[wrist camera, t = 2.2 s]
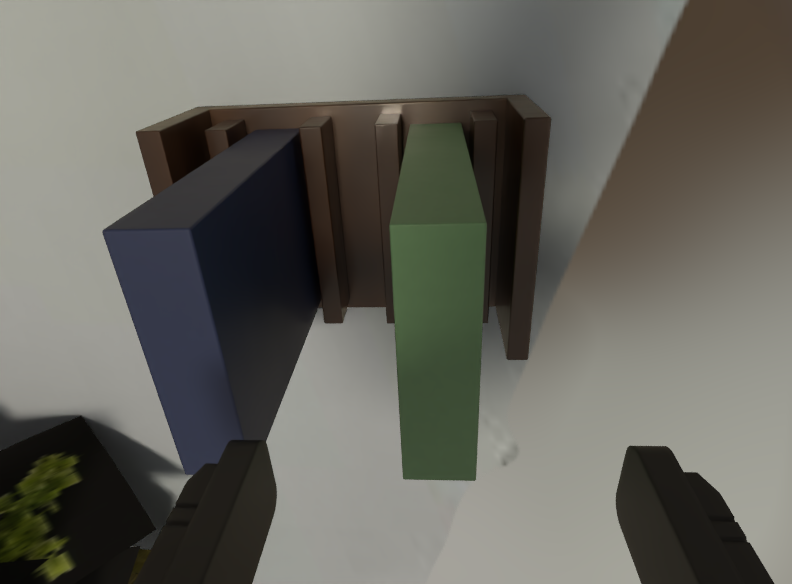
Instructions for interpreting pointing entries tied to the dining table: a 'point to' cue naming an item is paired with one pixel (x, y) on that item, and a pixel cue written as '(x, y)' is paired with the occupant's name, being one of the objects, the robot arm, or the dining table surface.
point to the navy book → (222, 290)
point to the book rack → (387, 187)
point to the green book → (438, 303)
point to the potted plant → (68, 512)
